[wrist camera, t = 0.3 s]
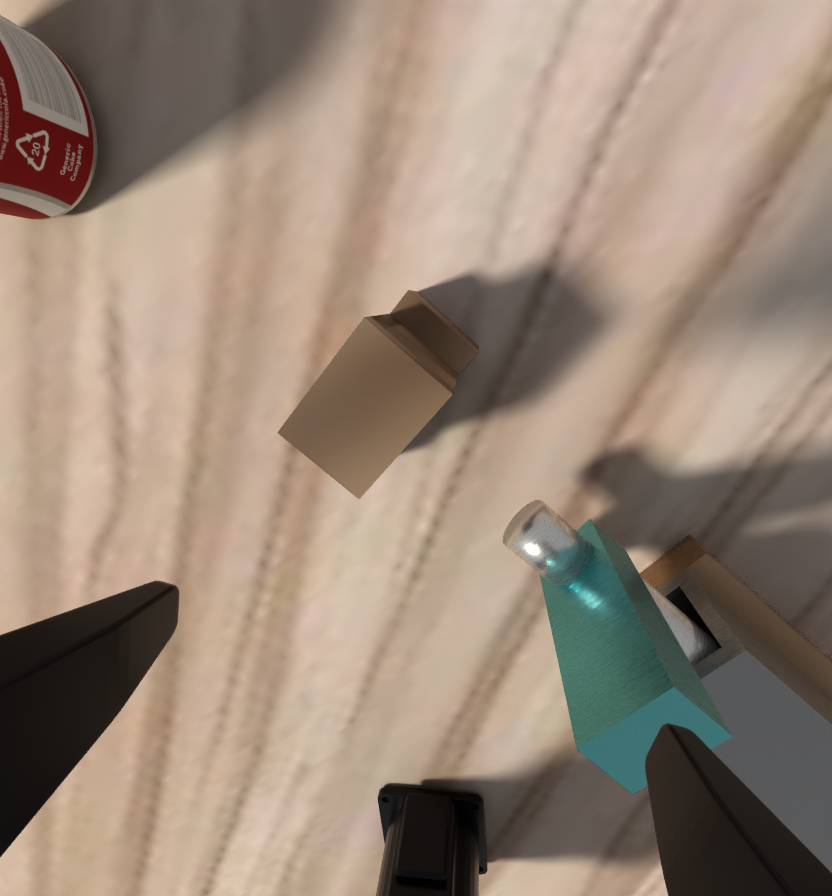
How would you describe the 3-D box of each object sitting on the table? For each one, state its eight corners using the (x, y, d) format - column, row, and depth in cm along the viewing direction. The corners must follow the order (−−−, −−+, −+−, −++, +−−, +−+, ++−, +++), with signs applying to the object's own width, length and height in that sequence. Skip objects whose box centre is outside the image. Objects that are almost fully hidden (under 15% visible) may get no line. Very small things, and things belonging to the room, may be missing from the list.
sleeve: (863, 689, 22) (1008, 836, 16) (738, 759, 24) (823, 911, 18) (690, 535, 21) (775, 631, 15) (575, 623, 23) (609, 737, 17)
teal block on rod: (848, 743, 20) (1094, 1039, 12) (788, 775, 21) (977, 1069, 13) (545, 480, 18) (596, 621, 10) (494, 527, 19) (504, 691, 11)
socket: (478, 346, 19) (477, 367, 13) (379, 459, 22) (340, 520, 16) (416, 291, 19) (386, 287, 13) (322, 412, 21) (260, 455, 15)
